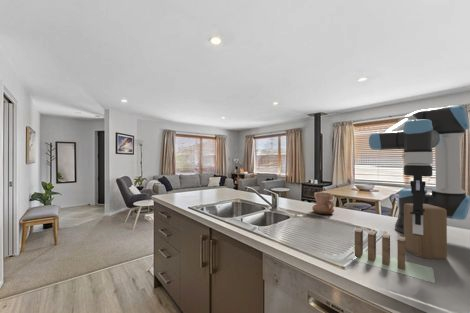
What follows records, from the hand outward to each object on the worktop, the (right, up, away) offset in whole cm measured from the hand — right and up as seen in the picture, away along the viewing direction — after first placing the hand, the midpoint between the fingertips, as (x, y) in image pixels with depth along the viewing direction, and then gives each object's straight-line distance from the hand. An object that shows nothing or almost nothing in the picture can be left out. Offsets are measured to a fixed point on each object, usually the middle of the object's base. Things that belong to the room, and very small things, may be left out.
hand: (417, 231), depth 73 cm
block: (+15, -14, +14) cm, 25 cm away
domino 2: (-7, -14, +6) cm, 16 cm away
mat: (-7, -14, +6) cm, 17 cm away
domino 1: (-10, -14, +9) cm, 19 cm away
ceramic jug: (0, -15, +79) cm, 80 cm away
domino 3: (-3, -14, +3) cm, 14 cm away
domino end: (-14, -14, +12) cm, 23 cm away
